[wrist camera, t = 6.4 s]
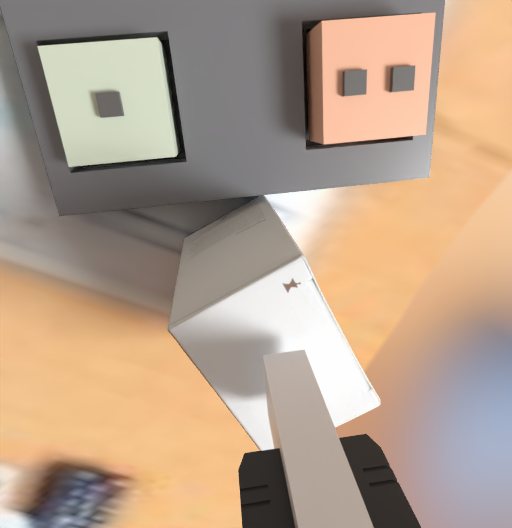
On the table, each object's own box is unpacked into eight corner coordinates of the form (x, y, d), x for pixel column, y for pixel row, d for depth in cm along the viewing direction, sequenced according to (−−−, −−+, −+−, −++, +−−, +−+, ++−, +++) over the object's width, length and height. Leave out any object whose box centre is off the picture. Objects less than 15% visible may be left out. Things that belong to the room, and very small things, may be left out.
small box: (182, 236, 23) (160, 326, 13) (264, 191, 23) (303, 250, 13) (245, 334, 26) (265, 466, 16) (319, 296, 25) (385, 408, 16)
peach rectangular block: (308, 140, 21) (325, 144, 18) (305, 34, 19) (323, 19, 16) (397, 131, 21) (429, 135, 18) (403, 27, 19) (439, 10, 16)
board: (72, 207, 22) (59, 216, 20) (16, -2, 18) (-6, -15, 16) (411, 172, 23) (429, 177, 21) (426, -28, 19) (448, -44, 17)
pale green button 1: (88, 159, 21) (66, 167, 18) (63, 56, 19) (34, 44, 16) (180, 151, 21) (175, 157, 18) (165, 48, 19) (155, 35, 16)
